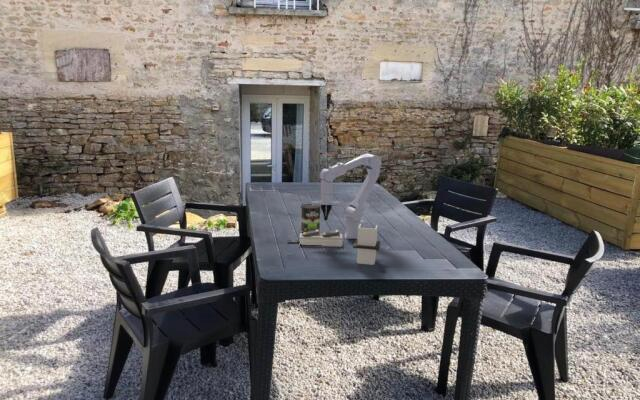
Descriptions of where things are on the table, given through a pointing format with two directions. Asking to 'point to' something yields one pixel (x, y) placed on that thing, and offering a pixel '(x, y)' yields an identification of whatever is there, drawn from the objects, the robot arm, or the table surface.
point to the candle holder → (366, 245)
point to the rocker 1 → (311, 233)
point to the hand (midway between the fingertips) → (325, 219)
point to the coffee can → (310, 217)
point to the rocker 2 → (331, 233)
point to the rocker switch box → (321, 240)
